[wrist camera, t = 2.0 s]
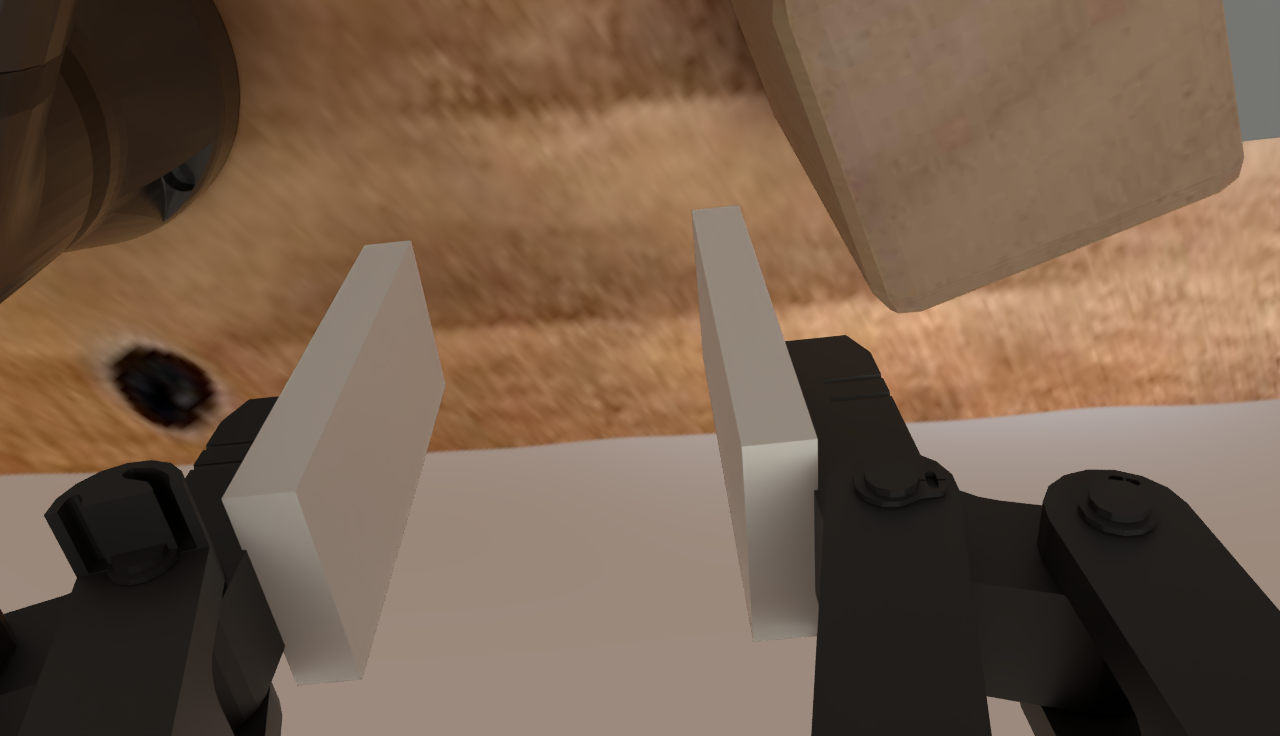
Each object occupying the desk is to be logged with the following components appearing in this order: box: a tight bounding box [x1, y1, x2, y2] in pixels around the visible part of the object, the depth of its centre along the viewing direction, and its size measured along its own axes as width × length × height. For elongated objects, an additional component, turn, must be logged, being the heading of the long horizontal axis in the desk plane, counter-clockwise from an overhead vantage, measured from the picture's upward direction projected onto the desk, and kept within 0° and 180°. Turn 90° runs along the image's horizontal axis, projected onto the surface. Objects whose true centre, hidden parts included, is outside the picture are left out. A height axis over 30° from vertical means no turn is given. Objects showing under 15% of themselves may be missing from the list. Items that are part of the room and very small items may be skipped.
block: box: [730, 0, 1244, 313], centre depth 32 cm, size 10×10×20 cm
